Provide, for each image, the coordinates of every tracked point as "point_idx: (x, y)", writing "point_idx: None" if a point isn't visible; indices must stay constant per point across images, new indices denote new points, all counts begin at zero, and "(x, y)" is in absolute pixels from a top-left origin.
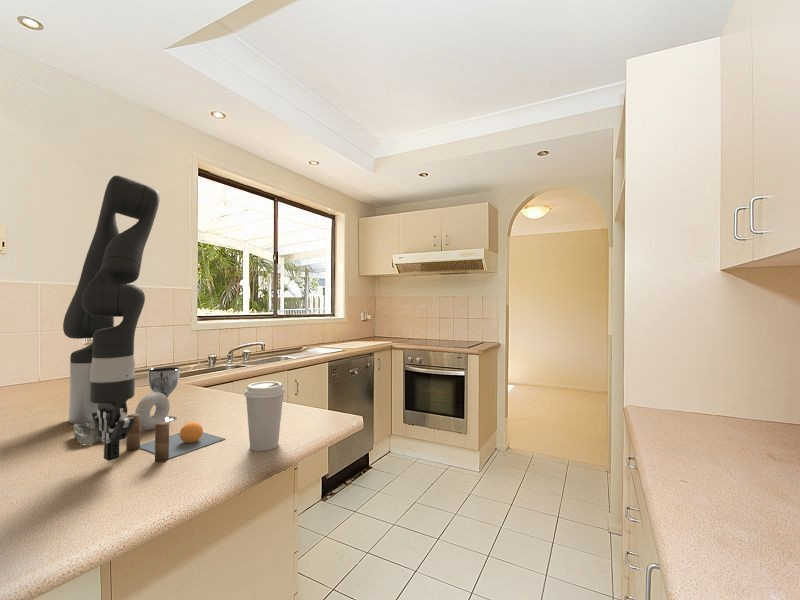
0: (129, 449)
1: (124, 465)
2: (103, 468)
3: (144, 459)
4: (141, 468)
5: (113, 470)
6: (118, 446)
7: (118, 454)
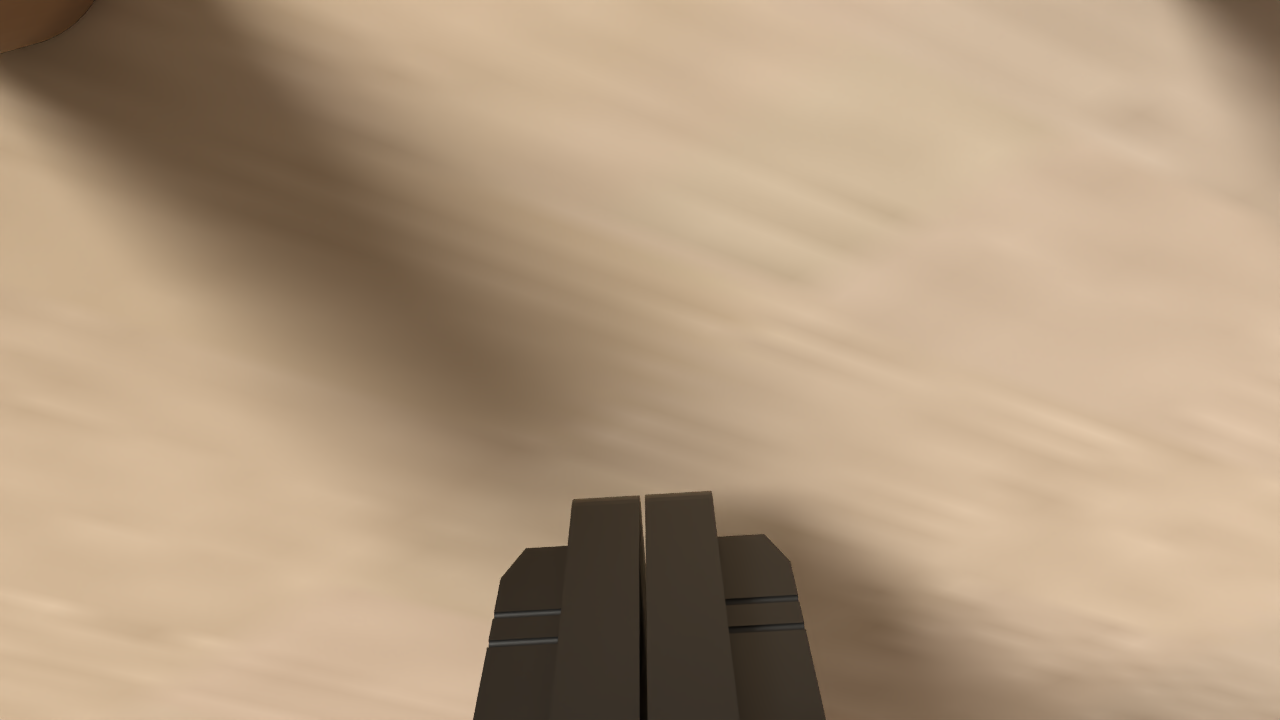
0: (62, 28)
1: (817, 369)
2: None
3: (852, 32)
4: (1235, 257)
5: (875, 536)
6: (810, 677)
7: (785, 558)
